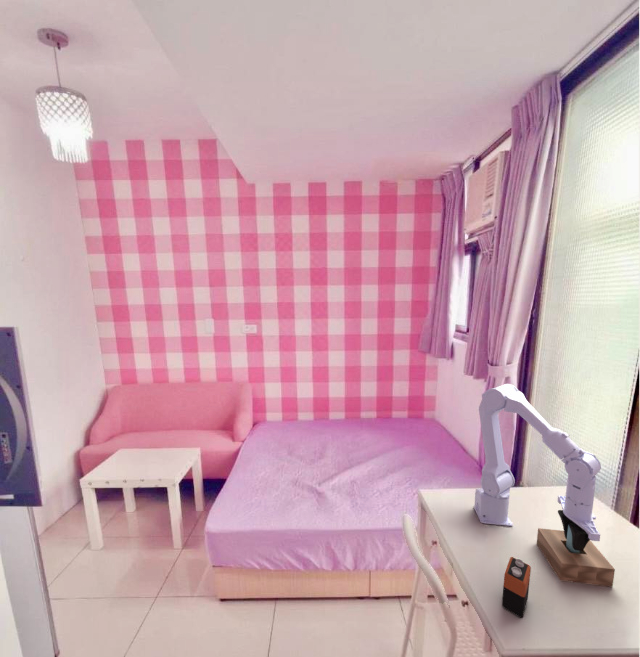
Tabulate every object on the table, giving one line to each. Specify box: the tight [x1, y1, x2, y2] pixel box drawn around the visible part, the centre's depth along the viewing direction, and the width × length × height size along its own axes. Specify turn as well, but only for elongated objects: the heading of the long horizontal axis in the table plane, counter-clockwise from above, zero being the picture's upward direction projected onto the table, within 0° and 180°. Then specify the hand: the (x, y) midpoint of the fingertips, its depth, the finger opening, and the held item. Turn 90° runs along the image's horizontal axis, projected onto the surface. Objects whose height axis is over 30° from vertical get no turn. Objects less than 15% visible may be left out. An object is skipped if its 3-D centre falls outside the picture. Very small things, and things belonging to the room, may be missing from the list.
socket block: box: [536, 527, 616, 588], centre depth 88 cm, size 12×12×5 cm
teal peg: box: [566, 525, 580, 554], centre depth 87 cm, size 3×3×8 cm
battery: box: [501, 556, 532, 619], centre depth 77 cm, size 4×7×10 cm, turn 138°
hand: (573, 544), depth 87 cm, fingers closed on teal peg, 3 cm apart
